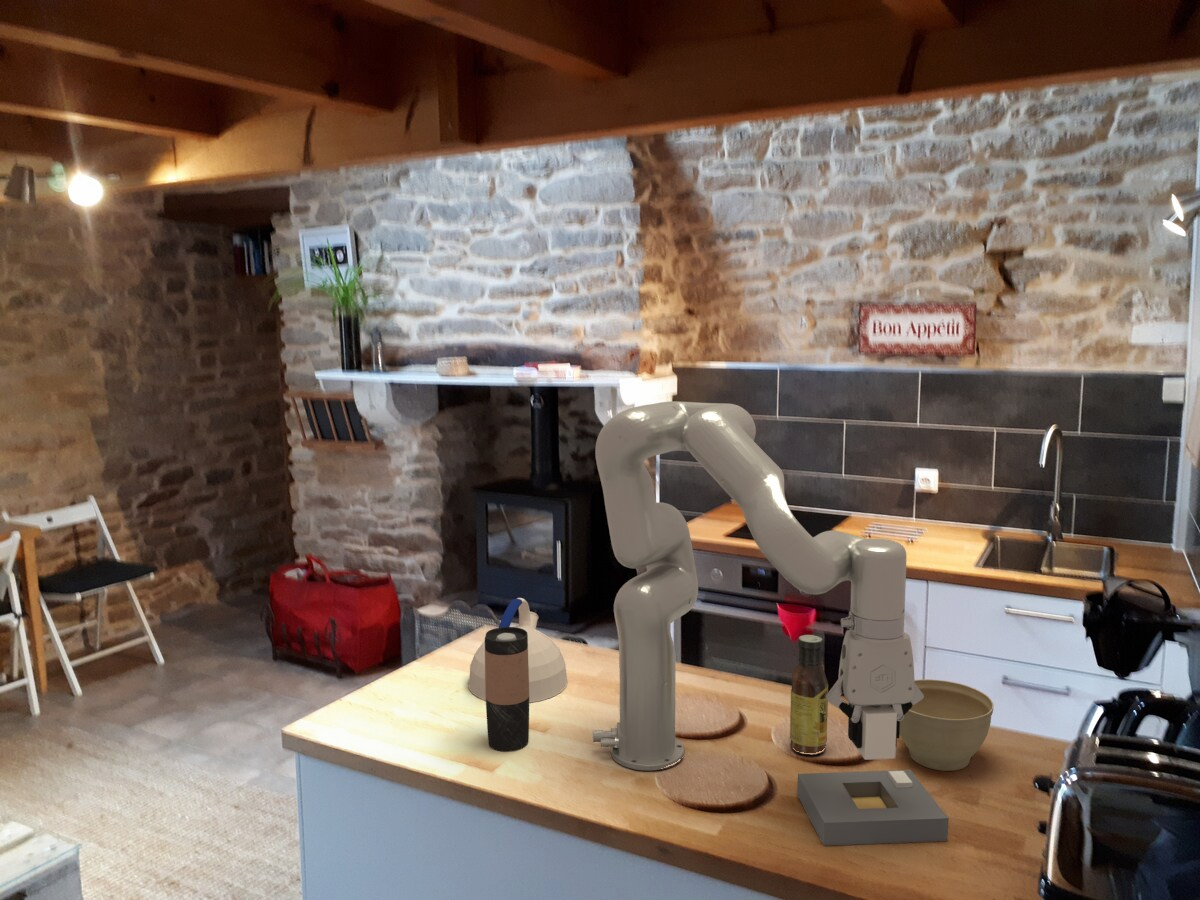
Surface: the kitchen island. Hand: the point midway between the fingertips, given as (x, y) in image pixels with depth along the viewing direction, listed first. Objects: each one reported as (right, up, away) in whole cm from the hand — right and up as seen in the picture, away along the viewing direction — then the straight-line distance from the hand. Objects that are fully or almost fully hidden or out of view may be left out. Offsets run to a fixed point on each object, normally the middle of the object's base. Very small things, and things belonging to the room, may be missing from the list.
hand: (873, 742), depth 136 cm
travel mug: (-57, -9, +26) cm, 63 cm away
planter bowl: (+17, -9, +20) cm, 28 cm away
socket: (0, -12, +2) cm, 12 cm away
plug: (0, -1, 0) cm, 1 cm away
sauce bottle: (-4, -9, +24) cm, 25 cm away
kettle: (-57, -5, +52) cm, 78 cm away
